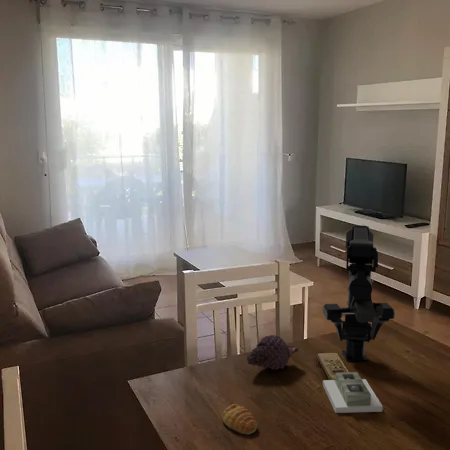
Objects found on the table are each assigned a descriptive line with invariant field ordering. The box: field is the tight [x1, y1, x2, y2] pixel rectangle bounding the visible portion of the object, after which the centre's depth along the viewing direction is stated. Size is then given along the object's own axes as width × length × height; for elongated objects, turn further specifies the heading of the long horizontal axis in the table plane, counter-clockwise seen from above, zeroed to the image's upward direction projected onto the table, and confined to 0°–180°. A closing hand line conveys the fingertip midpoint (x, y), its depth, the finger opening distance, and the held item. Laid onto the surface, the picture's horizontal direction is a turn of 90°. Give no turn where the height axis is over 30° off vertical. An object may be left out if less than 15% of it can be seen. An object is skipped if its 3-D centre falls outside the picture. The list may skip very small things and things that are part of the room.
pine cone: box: [246, 334, 300, 370], centre depth 154 cm, size 18×10×10 cm, turn 120°
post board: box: [322, 378, 384, 414], centre depth 138 cm, size 14×12×5 cm
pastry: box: [221, 403, 259, 435], centre depth 126 cm, size 9×7×4 cm
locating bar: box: [334, 371, 371, 406], centre depth 137 cm, size 12×6×3 cm, turn 3°
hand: (356, 340), depth 146 cm, fingers open, 9 cm apart
